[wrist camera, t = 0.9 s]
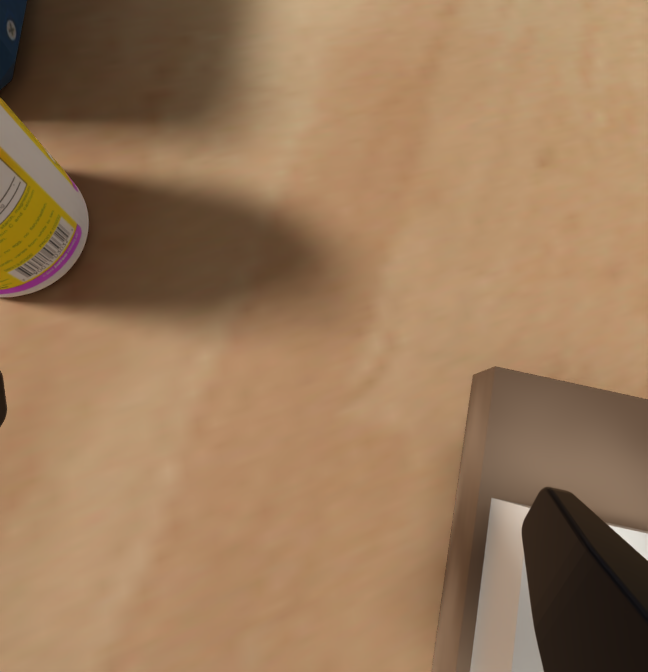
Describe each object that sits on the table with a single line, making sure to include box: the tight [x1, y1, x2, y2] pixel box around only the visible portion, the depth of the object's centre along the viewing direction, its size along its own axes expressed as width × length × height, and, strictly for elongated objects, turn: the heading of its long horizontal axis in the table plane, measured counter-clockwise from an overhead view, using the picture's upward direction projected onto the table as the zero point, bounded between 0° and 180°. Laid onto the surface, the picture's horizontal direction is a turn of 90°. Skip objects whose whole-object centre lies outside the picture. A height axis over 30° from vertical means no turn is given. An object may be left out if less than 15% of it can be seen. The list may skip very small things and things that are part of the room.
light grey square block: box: [470, 498, 648, 672], centre depth 16 cm, size 6×6×3 cm
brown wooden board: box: [432, 366, 648, 672], centre depth 19 cm, size 16×13×2 cm
